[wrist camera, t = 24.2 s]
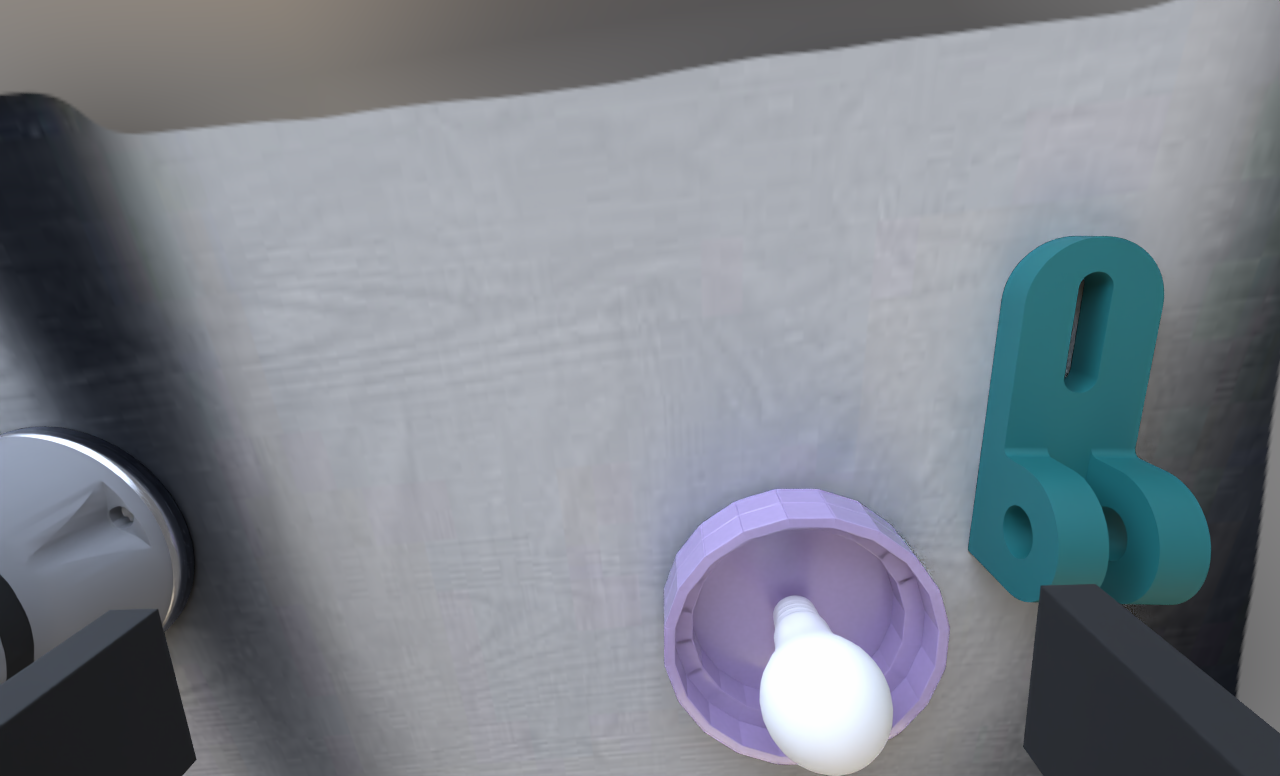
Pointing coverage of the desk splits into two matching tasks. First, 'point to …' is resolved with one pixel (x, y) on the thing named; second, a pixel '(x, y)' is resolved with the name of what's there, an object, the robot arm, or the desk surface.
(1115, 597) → the bracket
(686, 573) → the bowl
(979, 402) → the desk surface
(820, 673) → the lightbulb
